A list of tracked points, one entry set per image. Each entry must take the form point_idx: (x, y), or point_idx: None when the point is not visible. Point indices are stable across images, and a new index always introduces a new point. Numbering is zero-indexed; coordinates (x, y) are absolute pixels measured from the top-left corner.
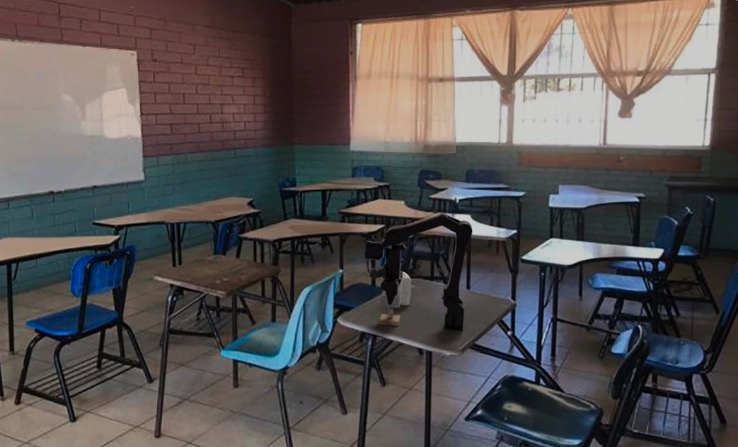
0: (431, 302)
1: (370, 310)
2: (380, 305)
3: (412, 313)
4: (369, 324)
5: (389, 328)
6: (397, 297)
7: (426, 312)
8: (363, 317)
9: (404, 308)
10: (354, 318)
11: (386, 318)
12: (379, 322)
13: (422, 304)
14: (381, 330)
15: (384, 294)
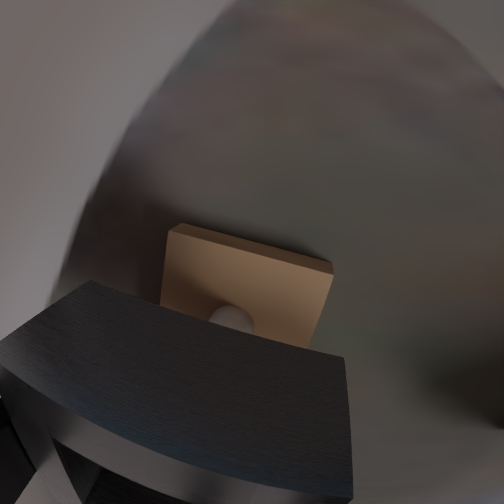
0: (483, 487)
1: (499, 194)
2: (82, 285)
3: (387, 445)
4: (172, 143)
5: (117, 281)
6: (49, 487)
7: (383, 485)
8: (341, 100)
9: (472, 413)
10: (309, 26)
11: (217, 295)
12: (177, 226)
13: (481, 469)
14: (81, 225)
15: (62, 436)
